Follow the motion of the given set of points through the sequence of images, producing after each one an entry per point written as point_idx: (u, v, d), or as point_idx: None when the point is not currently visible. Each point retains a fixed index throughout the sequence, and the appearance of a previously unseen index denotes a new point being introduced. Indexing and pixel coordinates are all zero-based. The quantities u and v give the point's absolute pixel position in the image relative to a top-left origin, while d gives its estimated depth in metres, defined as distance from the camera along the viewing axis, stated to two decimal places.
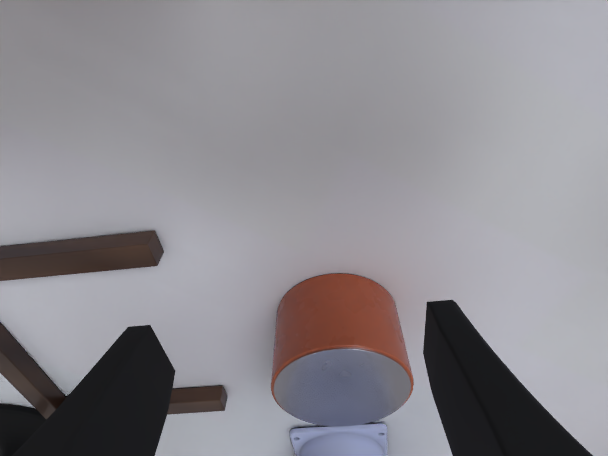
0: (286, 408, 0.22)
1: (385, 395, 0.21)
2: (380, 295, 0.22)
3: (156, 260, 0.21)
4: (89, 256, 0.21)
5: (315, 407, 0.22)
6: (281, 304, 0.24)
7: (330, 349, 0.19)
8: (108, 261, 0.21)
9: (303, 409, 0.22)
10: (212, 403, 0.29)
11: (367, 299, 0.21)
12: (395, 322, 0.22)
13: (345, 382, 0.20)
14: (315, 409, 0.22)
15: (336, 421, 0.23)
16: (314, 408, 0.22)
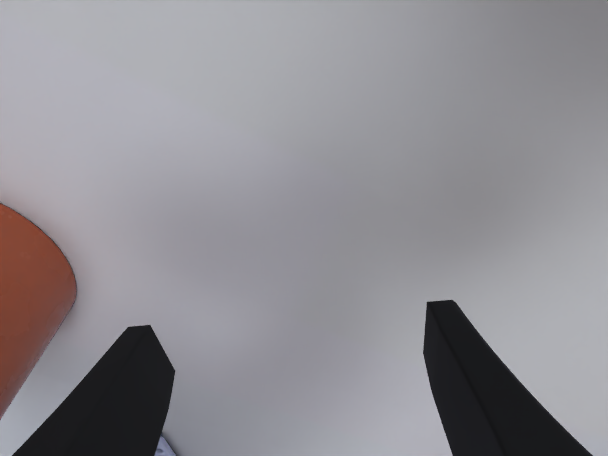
0: None
1: None
2: None
3: None
4: None
5: None
6: None
7: None
8: None
9: None
10: None
11: None
12: None
13: None
14: None
15: None
16: None
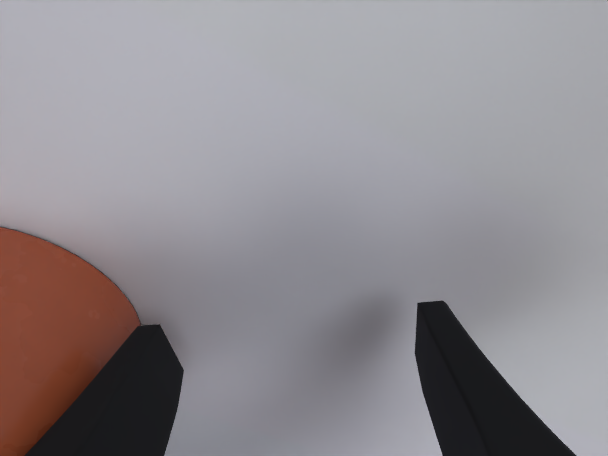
0: None
1: None
2: (40, 270, 0.10)
3: None
4: None
5: None
6: None
7: None
8: None
9: None
10: None
11: None
12: (51, 331, 0.09)
13: None
14: None
15: None
16: None
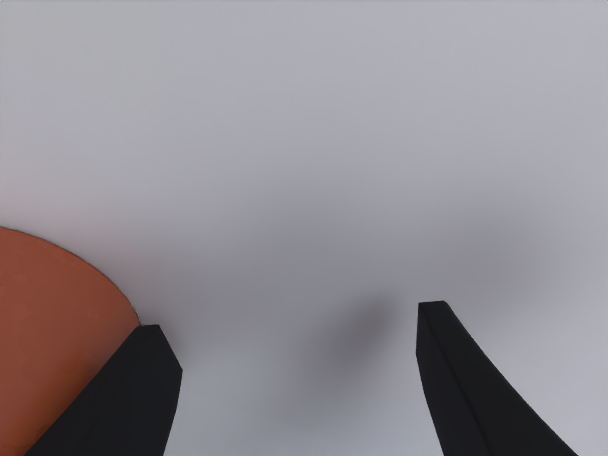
0: None
1: None
2: (39, 270, 0.10)
3: None
4: None
5: None
6: None
7: None
8: None
9: None
10: None
11: None
12: (50, 331, 0.09)
13: None
14: None
15: None
16: None
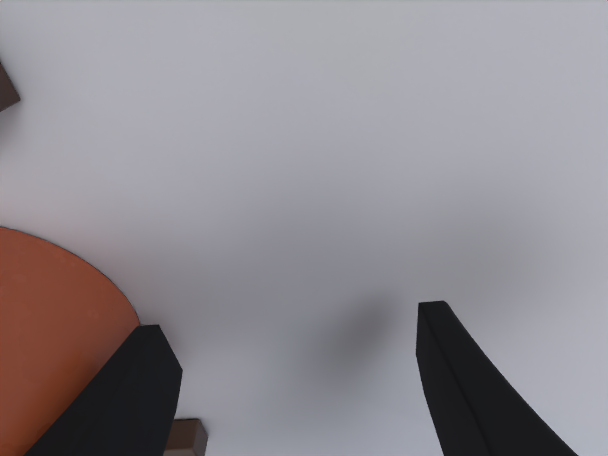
0: None
1: None
2: (39, 270, 0.10)
3: None
4: None
5: None
6: None
7: None
8: None
9: None
10: (178, 454, 0.15)
11: None
12: (50, 331, 0.09)
13: None
14: None
15: None
16: None
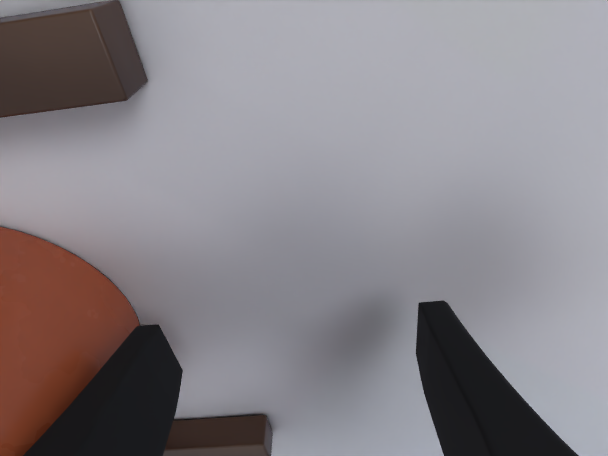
0: None
1: None
2: (38, 269, 0.10)
3: (123, 82, 0.07)
4: None
5: None
6: None
7: None
8: None
9: None
10: (248, 450, 0.15)
11: None
12: (49, 331, 0.09)
13: None
14: None
15: None
16: None
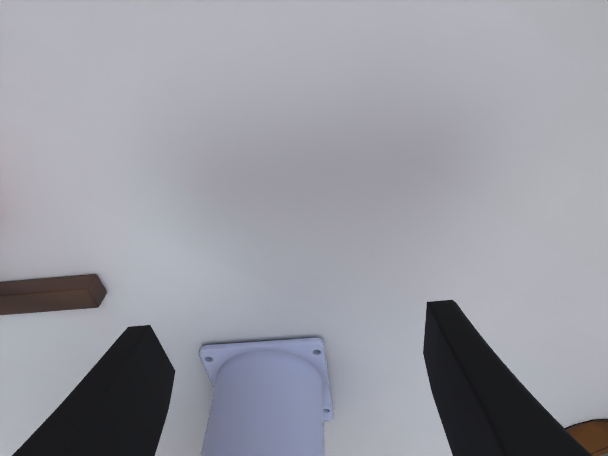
0: None
1: None
2: None
3: None
4: None
5: None
6: None
7: None
8: None
9: None
10: (78, 294, 0.21)
11: None
12: None
13: None
14: None
15: None
16: None
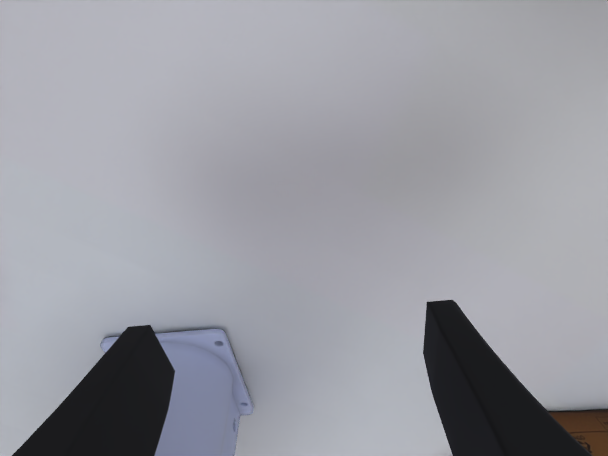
0: None
1: None
2: None
3: None
4: None
5: None
6: None
7: None
8: None
9: None
10: None
11: None
12: None
13: None
14: None
15: None
16: None
